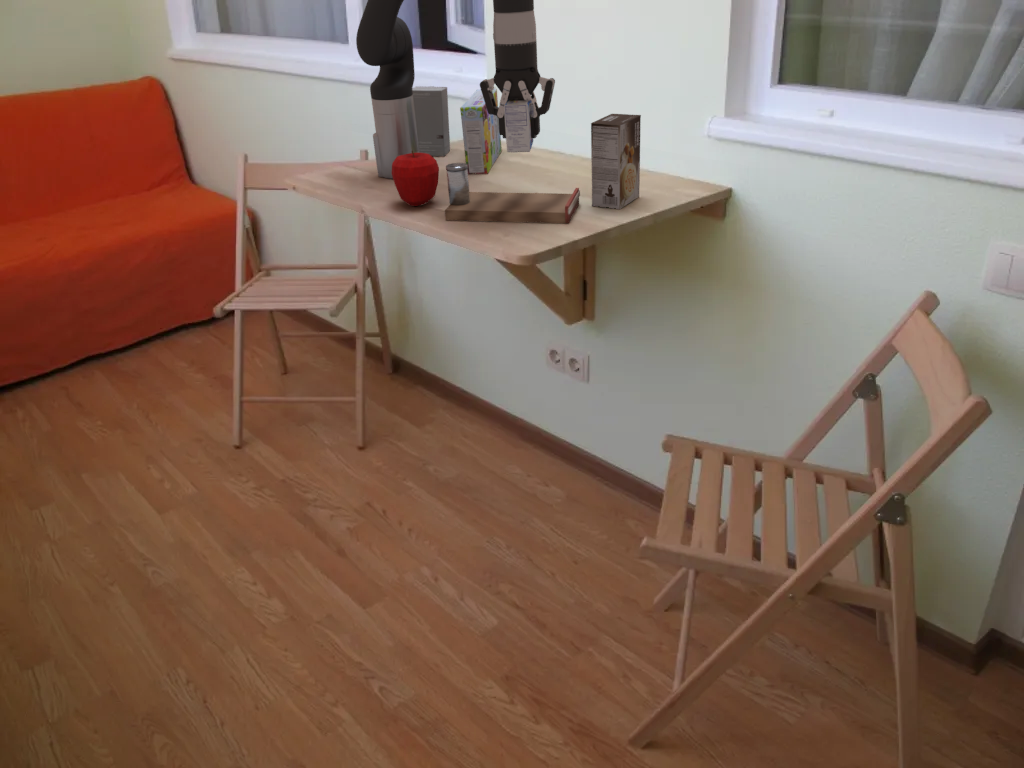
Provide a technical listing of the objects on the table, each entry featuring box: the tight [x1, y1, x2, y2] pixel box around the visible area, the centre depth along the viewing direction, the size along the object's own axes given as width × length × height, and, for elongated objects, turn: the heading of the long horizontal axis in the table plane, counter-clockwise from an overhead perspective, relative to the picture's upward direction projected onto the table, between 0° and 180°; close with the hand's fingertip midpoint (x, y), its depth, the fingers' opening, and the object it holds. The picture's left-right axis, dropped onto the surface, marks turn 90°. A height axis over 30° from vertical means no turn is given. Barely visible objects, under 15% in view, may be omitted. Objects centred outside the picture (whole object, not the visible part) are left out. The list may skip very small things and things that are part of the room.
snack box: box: [459, 88, 503, 175], centre depth 191 cm, size 21×6×15 cm, turn 172°
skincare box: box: [412, 85, 451, 157], centre depth 201 cm, size 8×7×16 cm
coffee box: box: [590, 113, 642, 210], centre depth 158 cm, size 9×6×16 cm
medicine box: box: [504, 98, 534, 153], centre depth 151 cm, size 8×4×9 cm, turn 174°
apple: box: [392, 150, 440, 207], centre depth 165 cm, size 10×10×11 cm
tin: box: [445, 162, 470, 205], centre depth 159 cm, size 4×4×7 cm
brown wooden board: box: [444, 187, 581, 224], centre depth 159 cm, size 24×12×3 cm, turn 76°
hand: (519, 137), depth 152 cm, fingers closed on medicine box, 4 cm apart
